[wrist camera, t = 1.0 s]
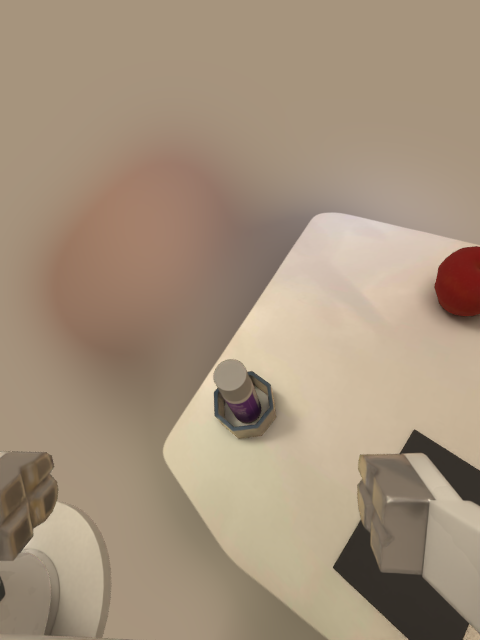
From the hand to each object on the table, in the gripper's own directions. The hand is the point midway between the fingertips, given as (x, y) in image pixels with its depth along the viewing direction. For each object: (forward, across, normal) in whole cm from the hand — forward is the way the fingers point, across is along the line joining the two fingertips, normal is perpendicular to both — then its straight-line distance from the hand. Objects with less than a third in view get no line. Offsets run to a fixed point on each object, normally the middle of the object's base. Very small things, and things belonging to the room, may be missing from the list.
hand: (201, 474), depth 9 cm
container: (+43, -1, -21) cm, 48 cm away
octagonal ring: (+43, -1, -21) cm, 48 cm away
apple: (+53, +37, -5) cm, 65 cm away
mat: (+30, +22, -31) cm, 48 cm away
